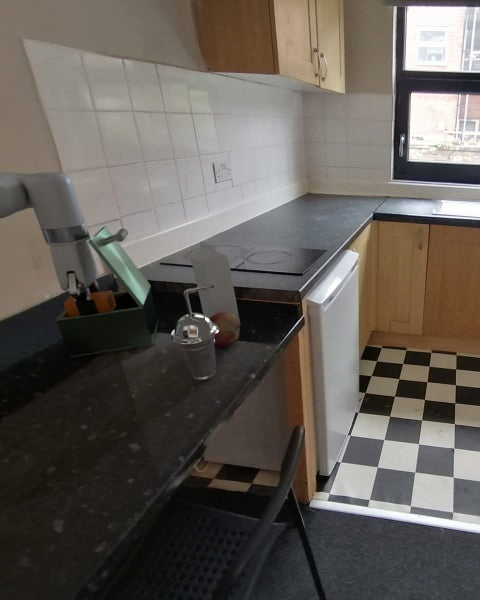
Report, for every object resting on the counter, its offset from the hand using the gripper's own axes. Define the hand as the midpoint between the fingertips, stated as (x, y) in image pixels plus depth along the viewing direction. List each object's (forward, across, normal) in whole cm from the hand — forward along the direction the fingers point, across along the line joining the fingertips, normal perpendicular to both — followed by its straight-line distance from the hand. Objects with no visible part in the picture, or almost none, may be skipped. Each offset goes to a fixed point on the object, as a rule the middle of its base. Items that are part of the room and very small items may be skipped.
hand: (93, 310), depth 92 cm
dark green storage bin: (+8, 0, +3) cm, 9 cm away
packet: (0, 0, 0) cm, 0 cm away
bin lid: (-10, 0, +8) cm, 12 cm away
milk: (+9, +2, +26) cm, 28 cm away
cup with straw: (+9, +24, +23) cm, 34 cm away
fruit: (+9, +12, +27) cm, 31 cm away
